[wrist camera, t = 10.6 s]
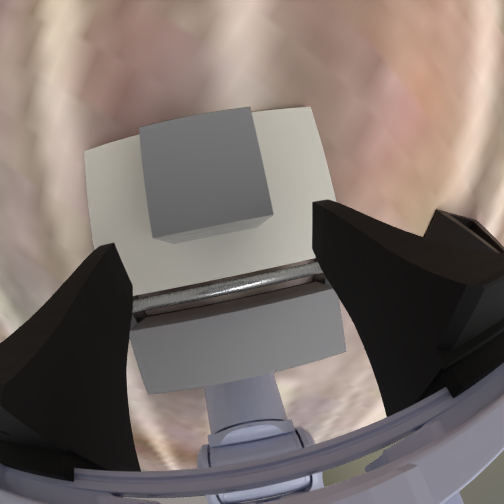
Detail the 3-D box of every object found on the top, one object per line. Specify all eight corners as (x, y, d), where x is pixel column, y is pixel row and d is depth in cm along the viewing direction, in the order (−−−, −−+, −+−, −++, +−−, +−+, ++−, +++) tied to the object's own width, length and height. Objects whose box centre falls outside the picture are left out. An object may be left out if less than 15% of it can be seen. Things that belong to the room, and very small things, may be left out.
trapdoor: (336, 331, 20) (360, 346, 16) (147, 372, 19) (132, 396, 15) (295, 131, 20) (310, 106, 16) (106, 168, 19) (84, 151, 15)
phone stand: (411, 259, 27) (481, 342, 17) (435, 208, 24) (522, 285, 14) (455, 262, 30) (514, 328, 20) (476, 220, 26) (545, 283, 17)
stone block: (257, 227, 16) (273, 214, 11) (174, 243, 15) (152, 238, 10) (241, 149, 16) (250, 106, 11) (161, 164, 15) (138, 127, 10)
